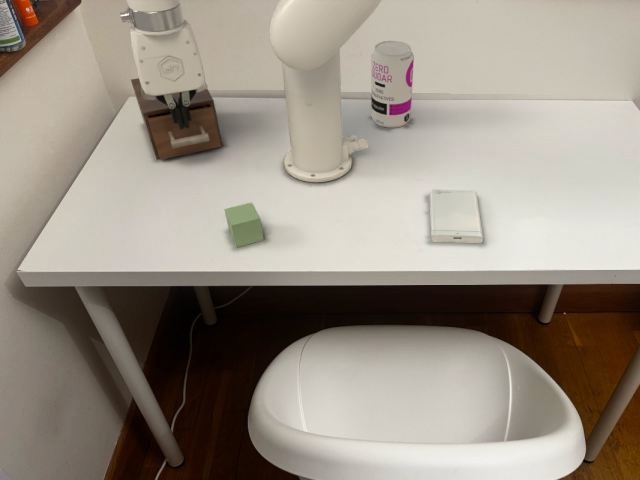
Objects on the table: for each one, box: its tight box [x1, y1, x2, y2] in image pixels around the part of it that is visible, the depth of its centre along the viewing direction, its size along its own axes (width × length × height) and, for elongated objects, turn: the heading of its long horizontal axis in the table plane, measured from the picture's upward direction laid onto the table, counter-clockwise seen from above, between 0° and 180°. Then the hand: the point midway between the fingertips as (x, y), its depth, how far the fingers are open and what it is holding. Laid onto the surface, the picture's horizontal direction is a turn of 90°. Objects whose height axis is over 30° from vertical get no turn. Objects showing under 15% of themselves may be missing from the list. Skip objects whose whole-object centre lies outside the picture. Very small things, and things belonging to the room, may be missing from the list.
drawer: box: [148, 105, 222, 160], centre depth 107 cm, size 18×11×8 cm, turn 25°
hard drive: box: [428, 189, 484, 244], centre depth 94 cm, size 2×8×12 cm
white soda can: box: [370, 40, 415, 129], centre depth 114 cm, size 8×8×15 cm
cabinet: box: [130, 77, 224, 161], centre depth 110 cm, size 15×13×10 cm
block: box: [224, 202, 265, 248], centre depth 89 cm, size 4×4×4 cm
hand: (183, 125), depth 100 cm, fingers closed
